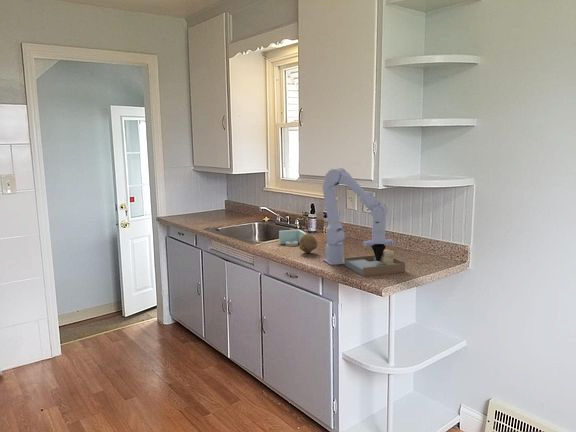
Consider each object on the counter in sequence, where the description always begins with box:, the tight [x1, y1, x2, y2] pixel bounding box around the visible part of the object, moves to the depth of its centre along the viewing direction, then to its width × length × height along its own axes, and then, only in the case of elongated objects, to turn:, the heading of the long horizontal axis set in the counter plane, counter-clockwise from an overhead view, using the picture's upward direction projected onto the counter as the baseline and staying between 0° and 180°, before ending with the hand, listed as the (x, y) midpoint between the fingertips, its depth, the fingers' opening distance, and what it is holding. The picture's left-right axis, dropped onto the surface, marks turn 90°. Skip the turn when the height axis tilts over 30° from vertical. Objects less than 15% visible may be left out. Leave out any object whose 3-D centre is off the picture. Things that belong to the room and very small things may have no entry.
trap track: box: [343, 254, 406, 277], centre depth 210 cm, size 19×20×4 cm
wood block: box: [379, 249, 395, 264], centre depth 212 cm, size 5×5×5 cm
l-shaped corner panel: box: [278, 229, 307, 247], centre depth 258 cm, size 12×12×8 cm
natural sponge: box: [298, 233, 318, 254], centre depth 239 cm, size 9×9×10 cm
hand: (377, 260), depth 211 cm, fingers closed
